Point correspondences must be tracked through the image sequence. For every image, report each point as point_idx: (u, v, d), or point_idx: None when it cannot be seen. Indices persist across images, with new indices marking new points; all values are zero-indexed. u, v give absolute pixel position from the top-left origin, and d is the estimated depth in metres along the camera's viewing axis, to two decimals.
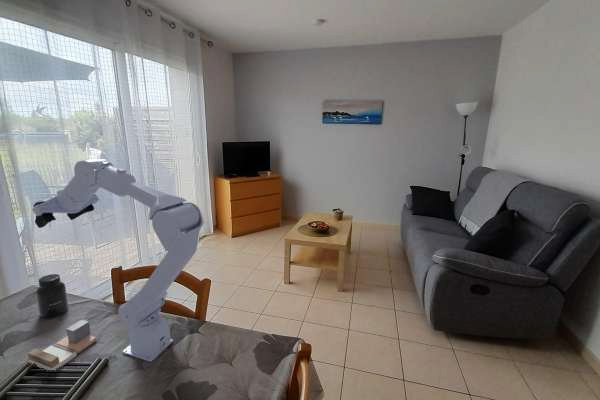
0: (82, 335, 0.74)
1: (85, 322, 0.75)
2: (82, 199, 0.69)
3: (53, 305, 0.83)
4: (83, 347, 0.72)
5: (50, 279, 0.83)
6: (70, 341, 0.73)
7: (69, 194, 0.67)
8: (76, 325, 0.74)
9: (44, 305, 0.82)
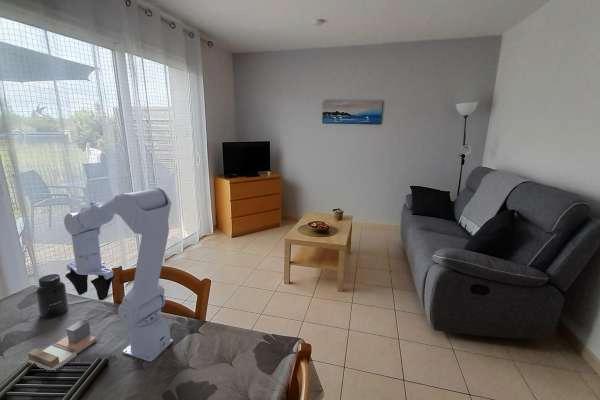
0: (82, 335, 0.74)
1: (85, 322, 0.75)
2: (89, 252, 0.75)
3: (53, 305, 0.83)
4: (83, 347, 0.72)
5: (50, 279, 0.83)
6: (70, 341, 0.73)
7: (77, 254, 0.74)
8: (76, 325, 0.74)
9: (44, 305, 0.82)
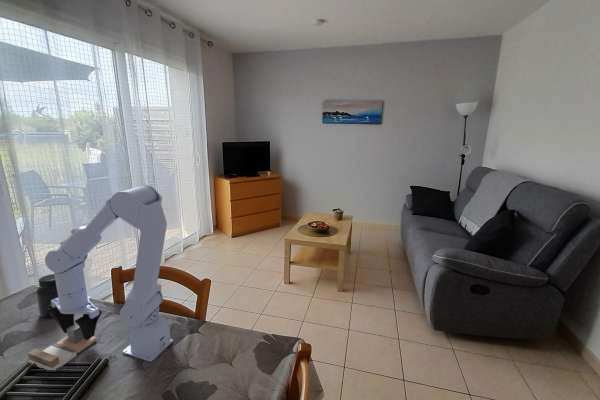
0: (82, 335, 0.74)
1: None
2: (78, 288, 0.70)
3: None
4: (83, 347, 0.72)
5: (50, 279, 0.83)
6: (70, 341, 0.73)
7: (64, 292, 0.69)
8: (76, 325, 0.74)
9: (44, 305, 0.82)
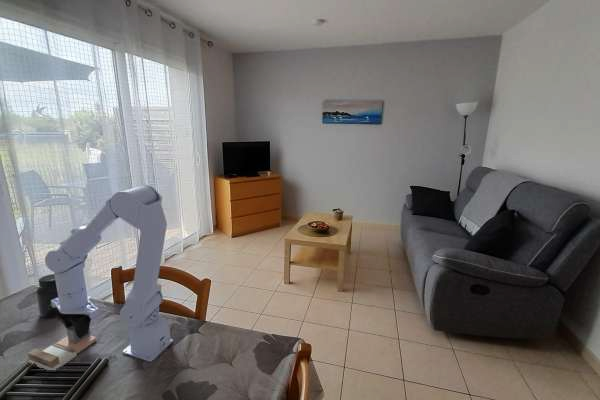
0: None
1: None
2: (78, 288, 0.70)
3: None
4: (83, 347, 0.72)
5: (50, 279, 0.83)
6: (70, 341, 0.73)
7: (64, 292, 0.69)
8: None
9: (44, 305, 0.82)
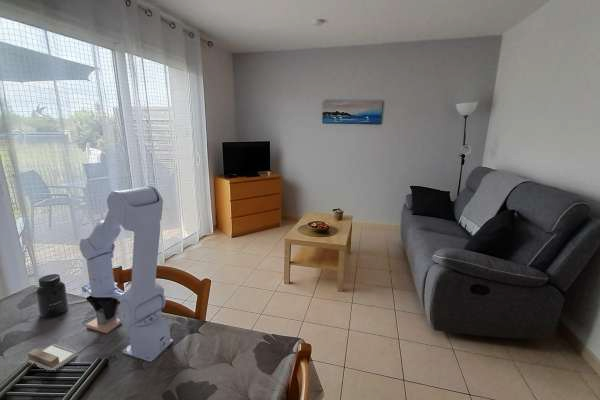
0: None
1: None
2: (102, 275, 0.77)
3: (53, 305, 0.83)
4: (111, 328, 0.80)
5: (50, 279, 0.83)
6: (99, 322, 0.81)
7: (91, 277, 0.76)
8: None
9: (44, 305, 0.82)
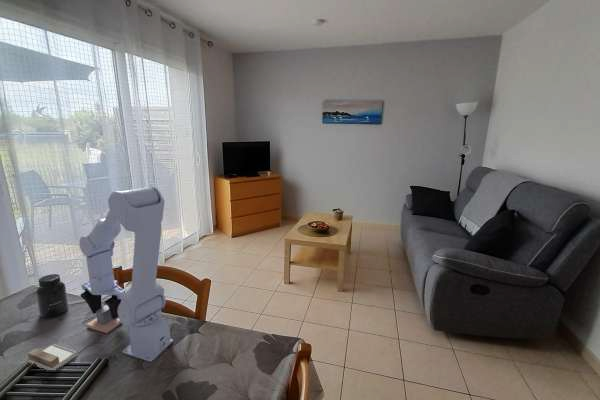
0: (109, 317, 0.82)
1: None
2: (102, 273, 0.77)
3: (53, 305, 0.83)
4: (111, 328, 0.80)
5: (50, 279, 0.83)
6: (99, 322, 0.81)
7: (91, 275, 0.76)
8: (104, 308, 0.82)
9: (44, 305, 0.82)
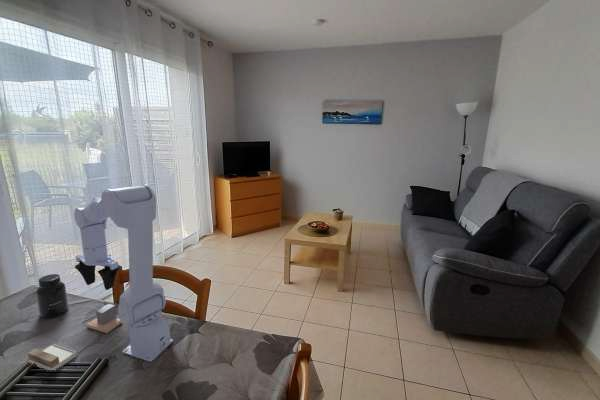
0: (109, 317, 0.82)
1: (112, 306, 0.83)
2: (94, 245, 0.80)
3: (53, 305, 0.83)
4: (111, 328, 0.80)
5: (50, 279, 0.83)
6: (99, 322, 0.81)
7: (84, 245, 0.80)
8: (104, 308, 0.82)
9: (44, 305, 0.82)
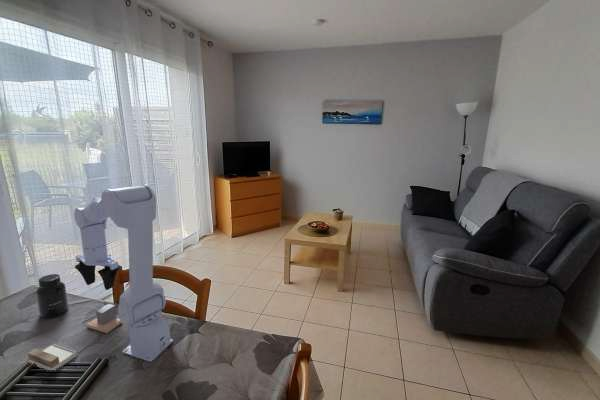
0: (109, 317, 0.82)
1: (112, 306, 0.83)
2: (94, 245, 0.80)
3: (53, 305, 0.83)
4: (111, 328, 0.80)
5: (50, 279, 0.83)
6: (99, 322, 0.81)
7: (84, 245, 0.80)
8: (104, 308, 0.82)
9: (44, 305, 0.82)
